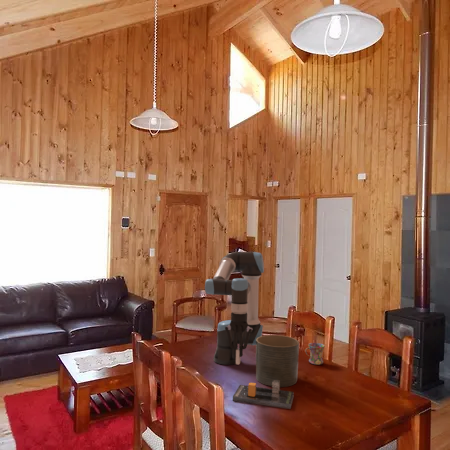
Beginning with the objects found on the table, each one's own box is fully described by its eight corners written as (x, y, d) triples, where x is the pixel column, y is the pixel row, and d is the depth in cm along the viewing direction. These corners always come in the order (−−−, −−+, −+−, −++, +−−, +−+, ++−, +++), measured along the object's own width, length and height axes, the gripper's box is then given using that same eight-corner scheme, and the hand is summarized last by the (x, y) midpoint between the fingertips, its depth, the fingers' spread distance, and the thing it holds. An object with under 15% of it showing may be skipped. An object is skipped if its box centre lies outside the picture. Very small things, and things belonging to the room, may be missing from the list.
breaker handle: (248, 395, 179) (248, 384, 179) (249, 393, 182) (249, 382, 182) (254, 396, 178) (254, 385, 178) (255, 394, 181) (256, 383, 181)
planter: (302, 376, 211) (303, 338, 211) (291, 391, 191) (292, 349, 191) (263, 368, 221) (264, 332, 221) (249, 382, 200) (249, 342, 201)
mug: (318, 359, 238) (319, 342, 238) (327, 365, 229) (327, 346, 230) (301, 361, 234) (301, 343, 235) (309, 366, 226) (309, 348, 226)
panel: (232, 400, 179) (233, 385, 179) (239, 388, 192) (240, 374, 192) (290, 409, 172) (290, 393, 172) (293, 396, 185) (293, 381, 185)
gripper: (223, 312, 180) (222, 364, 180) (251, 315, 177) (250, 367, 176) (227, 309, 187) (226, 359, 187) (254, 311, 184) (253, 362, 184)
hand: (238, 363), depth 182 cm, fingers closed
